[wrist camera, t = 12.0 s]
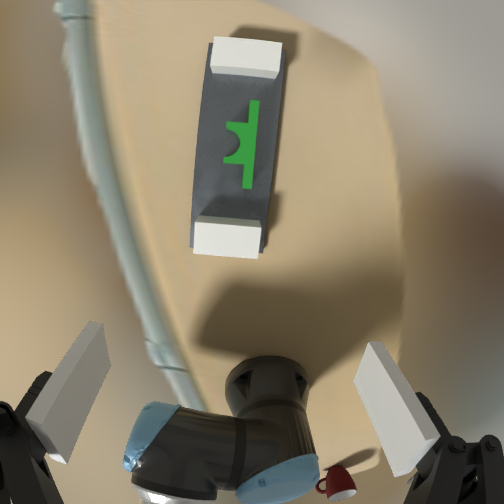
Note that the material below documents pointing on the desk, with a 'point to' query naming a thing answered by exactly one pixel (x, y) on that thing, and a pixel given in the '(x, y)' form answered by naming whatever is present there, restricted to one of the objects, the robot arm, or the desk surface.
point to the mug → (337, 484)
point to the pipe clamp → (245, 143)
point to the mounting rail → (235, 147)
